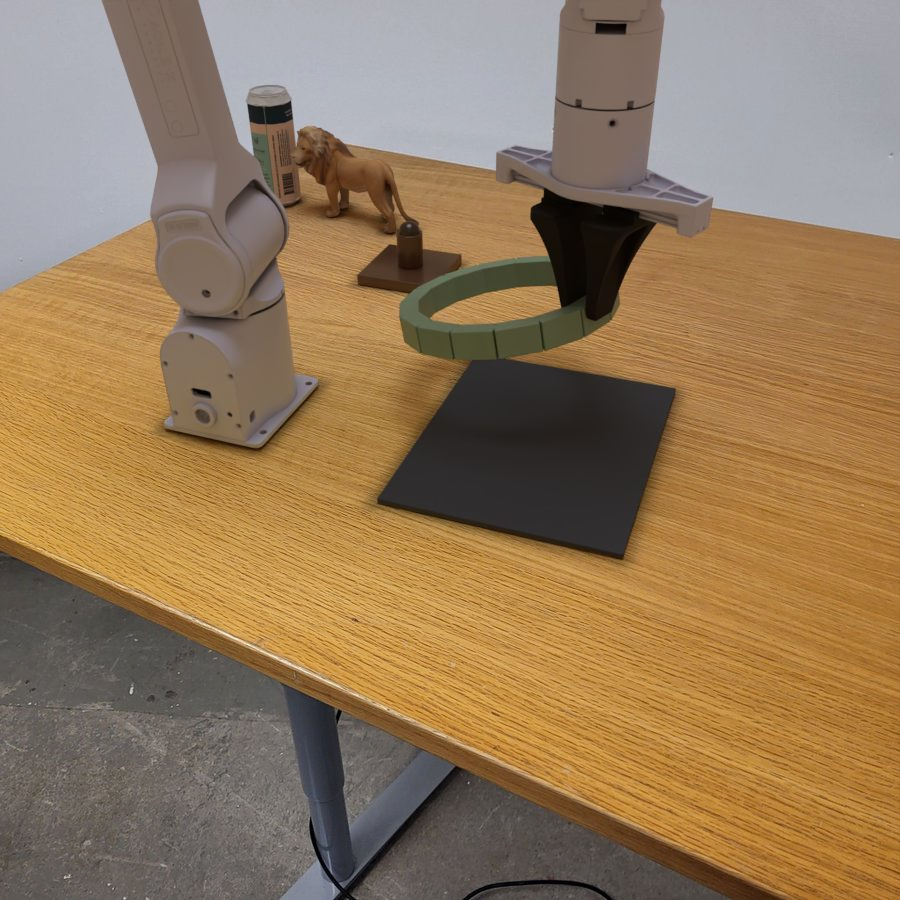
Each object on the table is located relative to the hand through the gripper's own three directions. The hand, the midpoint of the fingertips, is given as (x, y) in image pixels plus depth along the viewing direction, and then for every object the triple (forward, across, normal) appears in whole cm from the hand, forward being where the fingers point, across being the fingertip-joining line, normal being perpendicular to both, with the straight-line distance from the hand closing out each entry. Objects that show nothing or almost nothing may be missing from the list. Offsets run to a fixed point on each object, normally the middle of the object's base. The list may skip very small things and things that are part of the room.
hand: (586, 310), depth 62 cm
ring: (+3, +6, 0) cm, 7 cm away
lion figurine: (+10, +42, -17) cm, 46 cm away
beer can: (+10, +52, -15) cm, 54 cm away
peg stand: (+9, +27, -11) cm, 31 cm away
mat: (+9, +1, +3) cm, 10 cm away
